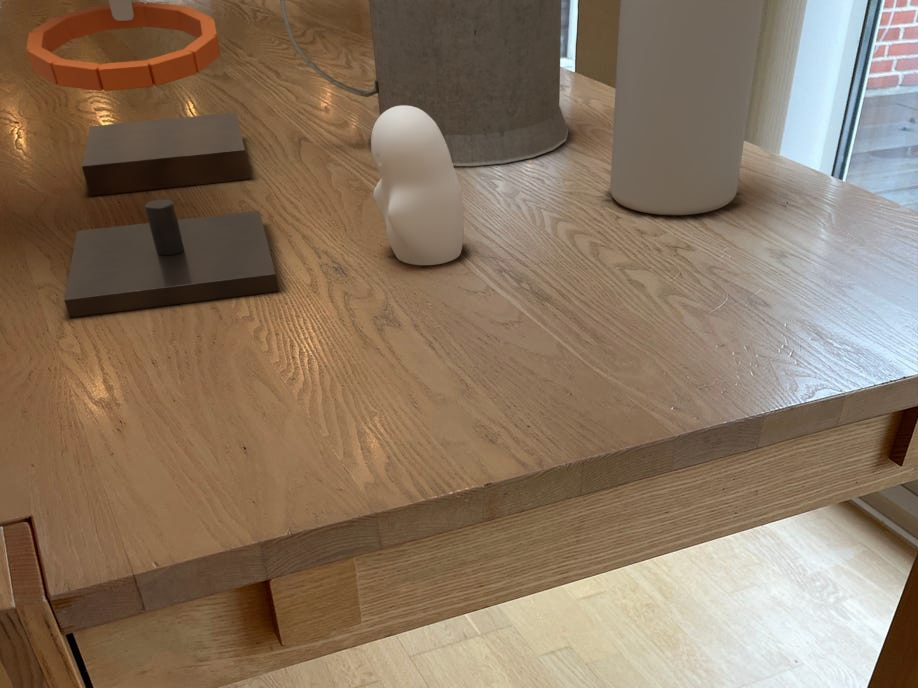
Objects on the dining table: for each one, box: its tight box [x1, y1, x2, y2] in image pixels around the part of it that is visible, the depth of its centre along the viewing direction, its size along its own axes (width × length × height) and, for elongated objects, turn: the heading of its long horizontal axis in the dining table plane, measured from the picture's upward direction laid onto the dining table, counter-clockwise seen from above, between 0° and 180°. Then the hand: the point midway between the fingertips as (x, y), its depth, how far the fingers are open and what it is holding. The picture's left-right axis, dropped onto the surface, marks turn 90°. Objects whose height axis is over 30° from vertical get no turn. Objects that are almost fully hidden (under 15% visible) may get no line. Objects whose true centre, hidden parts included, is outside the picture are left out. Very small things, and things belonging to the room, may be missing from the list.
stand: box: [81, 112, 251, 197], centre depth 108 cm, size 17×17×3 cm
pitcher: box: [279, 0, 569, 167], centre depth 105 cm, size 23×32×25 cm
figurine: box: [370, 105, 465, 266], centre depth 82 cm, size 7×8×12 cm
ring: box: [25, 1, 221, 92], centre depth 80 cm, size 15×15×2 cm
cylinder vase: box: [609, 0, 765, 216], centre depth 87 cm, size 12×12×25 cm
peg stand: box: [63, 198, 279, 318], centre depth 83 cm, size 17×17×6 cm
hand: (125, 17), depth 84 cm, fingers closed on ring, 1 cm apart
